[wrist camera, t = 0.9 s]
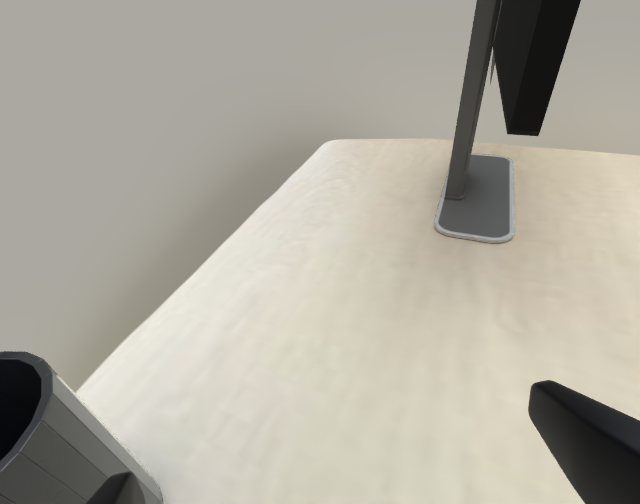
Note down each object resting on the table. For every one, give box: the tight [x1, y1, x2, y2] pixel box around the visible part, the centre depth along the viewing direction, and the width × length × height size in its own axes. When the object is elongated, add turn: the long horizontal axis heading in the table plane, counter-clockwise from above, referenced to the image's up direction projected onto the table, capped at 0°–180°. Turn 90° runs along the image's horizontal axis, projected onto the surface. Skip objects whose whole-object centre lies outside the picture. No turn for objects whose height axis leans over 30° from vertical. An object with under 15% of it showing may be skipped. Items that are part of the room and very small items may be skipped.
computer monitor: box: [434, 0, 581, 243], centre depth 34 cm, size 41×8×40 cm, turn 158°
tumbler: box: [0, 351, 163, 504], centre depth 16 cm, size 7×7×12 cm
